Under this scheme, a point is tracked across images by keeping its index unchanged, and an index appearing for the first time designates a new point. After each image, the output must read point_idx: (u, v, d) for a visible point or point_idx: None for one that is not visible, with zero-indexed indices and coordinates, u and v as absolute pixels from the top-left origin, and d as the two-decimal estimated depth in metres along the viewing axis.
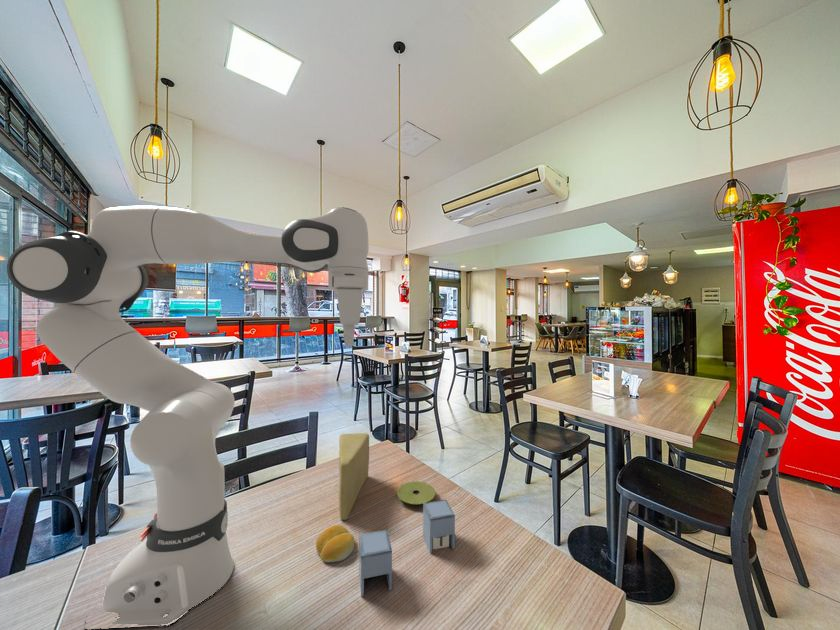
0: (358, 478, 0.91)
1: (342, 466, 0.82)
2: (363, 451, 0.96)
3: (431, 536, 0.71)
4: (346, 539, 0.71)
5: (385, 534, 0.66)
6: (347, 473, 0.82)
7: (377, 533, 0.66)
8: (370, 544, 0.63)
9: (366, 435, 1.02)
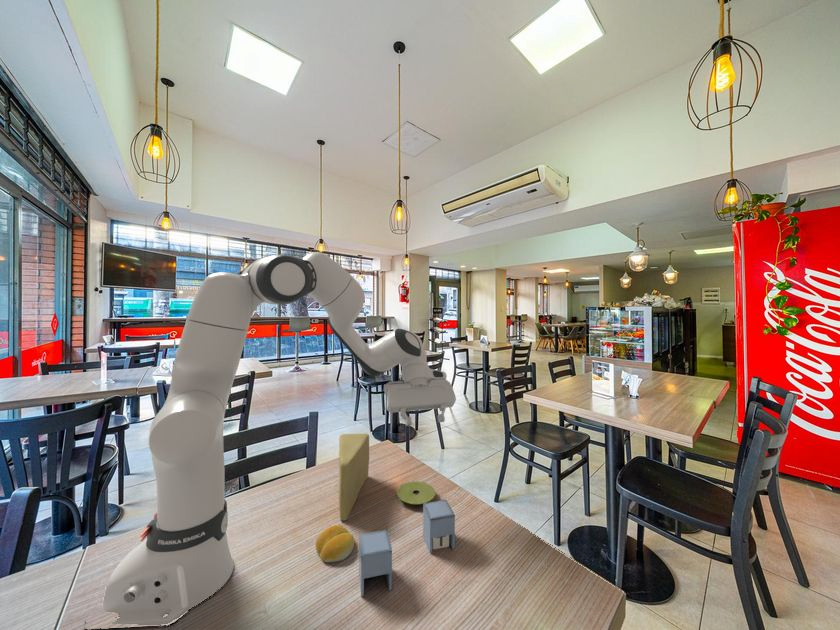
0: (358, 478, 0.91)
1: (342, 466, 0.82)
2: (363, 451, 0.95)
3: (431, 536, 0.71)
4: (346, 539, 0.71)
5: (385, 534, 0.66)
6: (347, 473, 0.82)
7: (377, 533, 0.66)
8: (370, 544, 0.63)
9: (366, 435, 1.02)
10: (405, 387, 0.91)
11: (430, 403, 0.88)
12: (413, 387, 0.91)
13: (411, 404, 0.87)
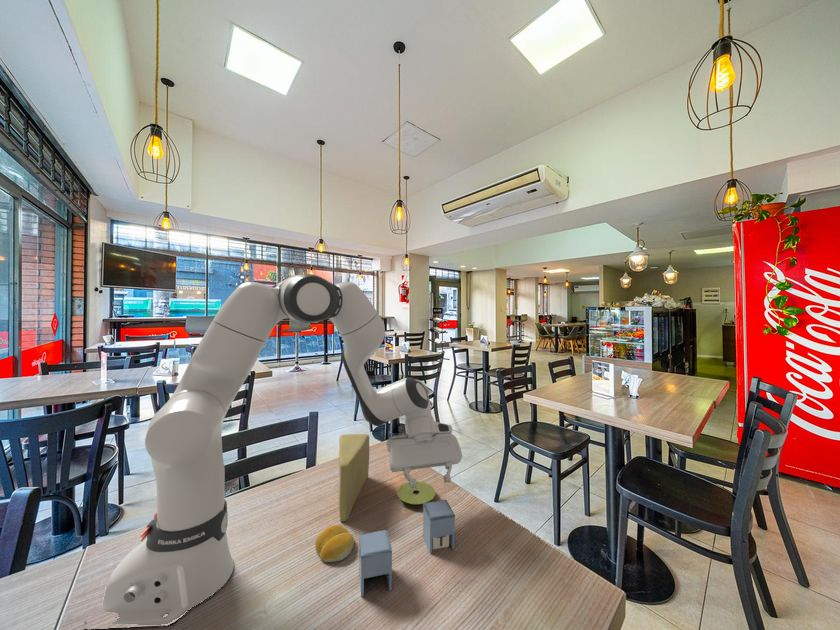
0: (358, 479, 0.90)
1: (342, 467, 0.82)
2: (363, 452, 0.95)
3: (431, 536, 0.71)
4: (345, 539, 0.71)
5: (385, 534, 0.66)
6: (347, 474, 0.82)
7: (377, 533, 0.66)
8: (370, 544, 0.63)
9: (366, 436, 1.01)
10: (409, 443, 0.86)
11: (435, 462, 0.84)
12: (417, 443, 0.86)
13: (416, 463, 0.82)
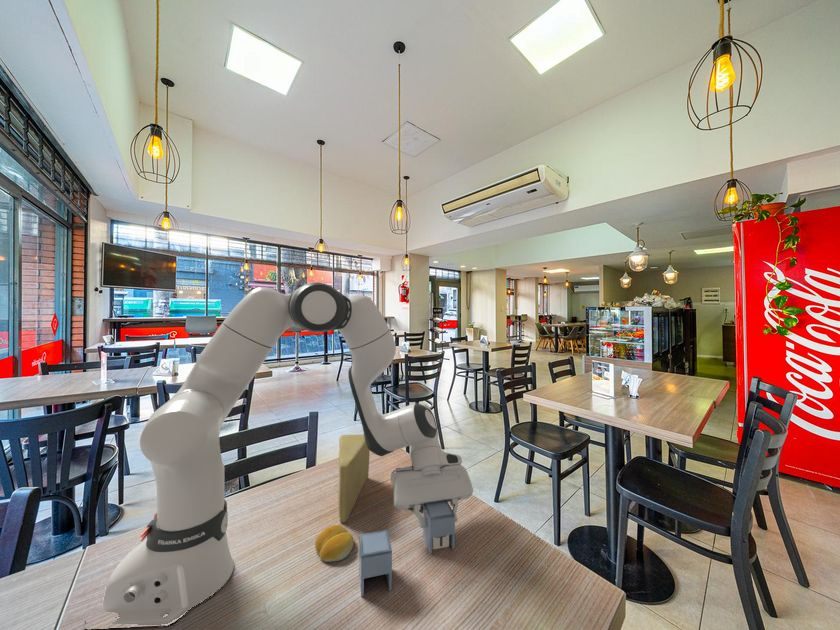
0: (358, 480, 0.90)
1: (341, 468, 0.81)
2: (363, 452, 0.95)
3: (431, 536, 0.71)
4: (345, 539, 0.71)
5: (385, 534, 0.66)
6: (347, 475, 0.81)
7: (377, 533, 0.66)
8: (370, 544, 0.63)
9: None
10: (415, 477, 0.79)
11: (444, 498, 0.77)
12: (424, 477, 0.79)
13: (423, 500, 0.75)
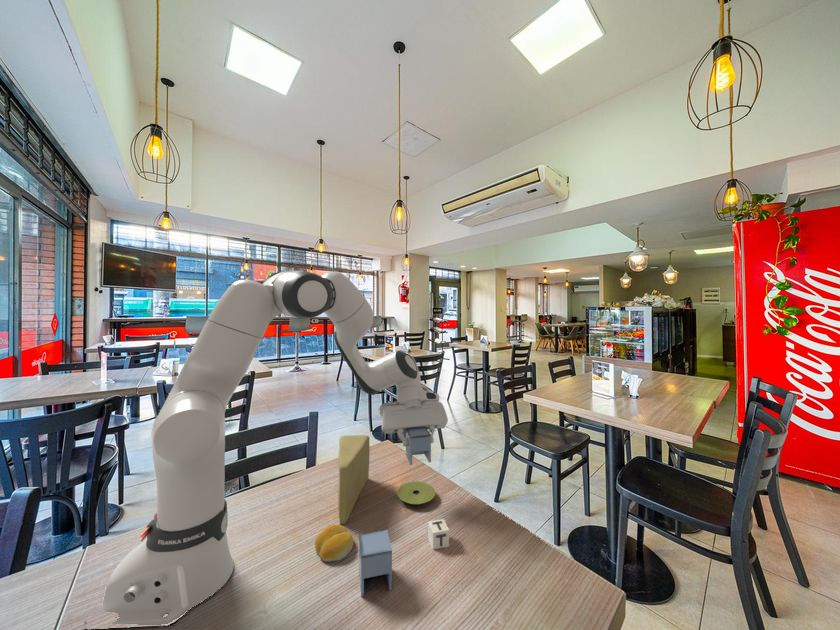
0: (358, 481, 0.89)
1: (341, 469, 0.81)
2: (363, 453, 0.94)
3: (411, 451, 0.87)
4: (345, 538, 0.71)
5: (385, 534, 0.66)
6: (346, 476, 0.81)
7: (377, 533, 0.66)
8: (370, 544, 0.63)
9: (366, 437, 1.00)
10: (399, 409, 0.95)
11: (423, 424, 0.93)
12: (407, 409, 0.95)
13: (405, 425, 0.92)
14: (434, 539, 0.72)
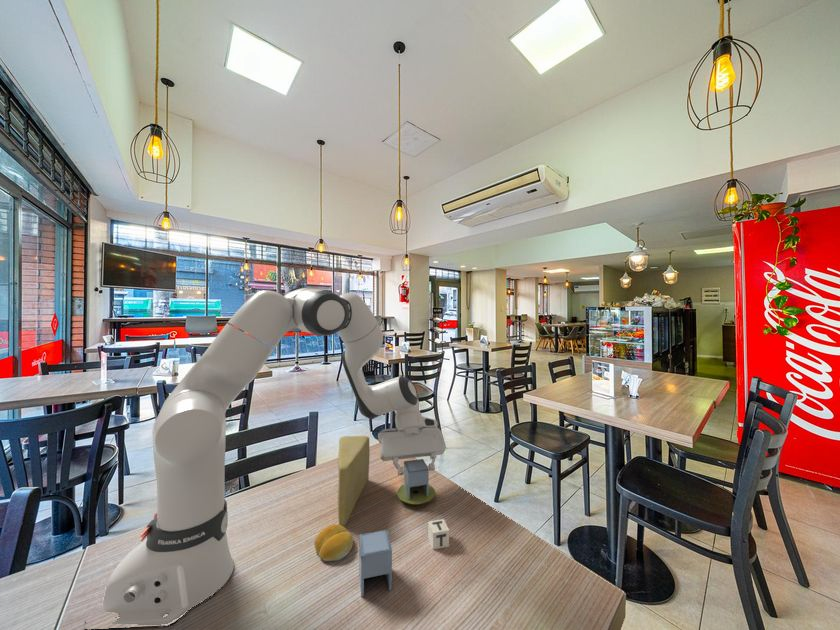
0: (357, 482, 0.89)
1: (340, 470, 0.80)
2: (363, 454, 0.93)
3: (409, 485, 0.88)
4: (344, 538, 0.71)
5: (385, 534, 0.66)
6: (346, 477, 0.80)
7: (377, 533, 0.66)
8: (370, 544, 0.63)
9: (366, 438, 1.00)
10: (398, 436, 0.96)
11: (421, 452, 0.94)
12: (406, 435, 0.96)
13: (404, 453, 0.92)
14: (434, 539, 0.72)
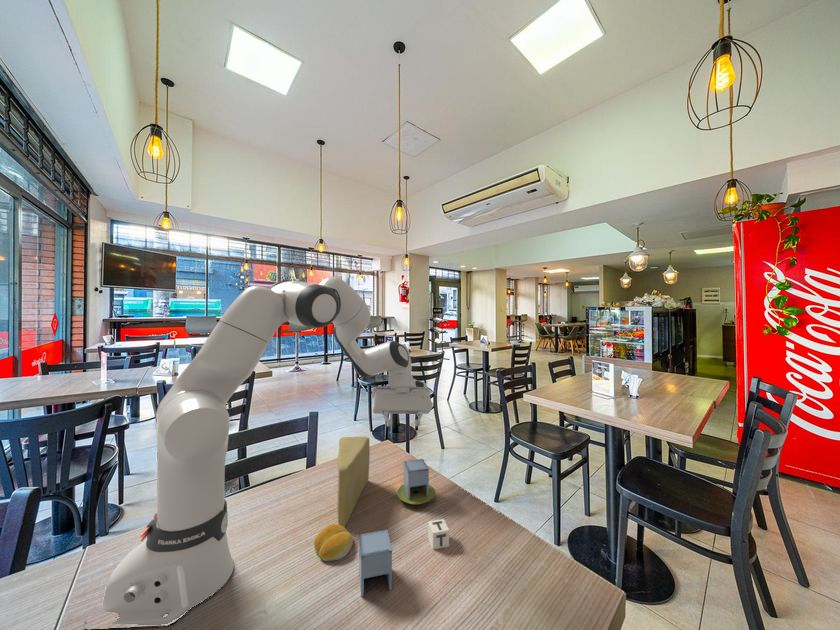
0: (357, 483, 0.88)
1: (340, 471, 0.80)
2: (363, 455, 0.93)
3: (409, 485, 0.88)
4: (344, 538, 0.71)
5: (385, 534, 0.66)
6: (346, 478, 0.80)
7: (377, 533, 0.66)
8: (370, 544, 0.63)
9: (366, 439, 0.99)
10: (390, 393, 1.05)
11: (409, 409, 1.04)
12: (397, 393, 1.06)
13: (393, 408, 1.02)
14: (434, 539, 0.72)
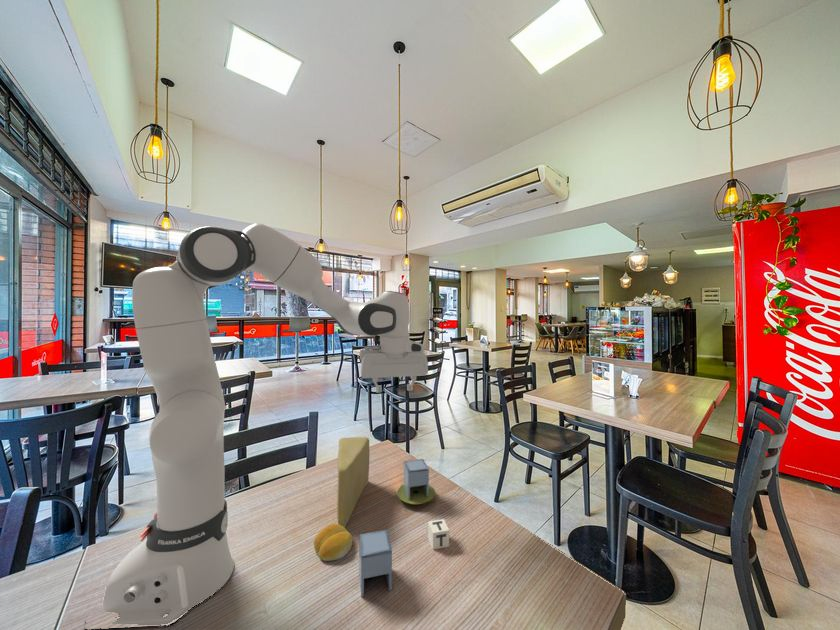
0: (357, 484, 0.88)
1: (340, 472, 0.79)
2: (363, 456, 0.92)
3: (409, 485, 0.88)
4: (344, 538, 0.71)
5: (385, 534, 0.66)
6: (345, 479, 0.79)
7: (377, 533, 0.66)
8: (370, 544, 0.63)
9: (366, 439, 0.99)
10: (380, 358, 0.91)
11: (402, 376, 0.92)
12: (388, 358, 0.91)
13: (384, 376, 0.91)
14: (434, 539, 0.72)
